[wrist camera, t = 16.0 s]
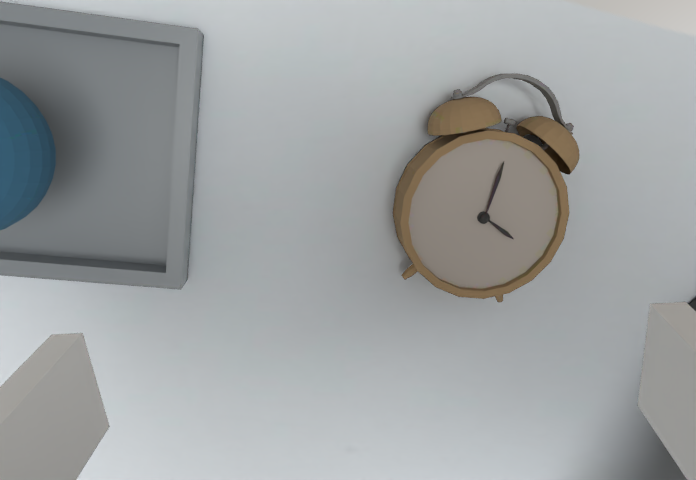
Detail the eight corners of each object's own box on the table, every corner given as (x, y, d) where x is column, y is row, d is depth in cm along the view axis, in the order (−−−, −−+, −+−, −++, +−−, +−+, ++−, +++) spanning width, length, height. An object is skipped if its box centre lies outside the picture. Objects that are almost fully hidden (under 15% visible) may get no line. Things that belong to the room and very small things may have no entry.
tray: (203, 35, 36) (197, 28, 34) (187, 279, 39) (180, 289, 37) (-144, -12, 34) (-177, -23, 31) (-134, 253, 37) (-164, 262, 34)
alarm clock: (377, 281, 38) (454, 51, 33) (370, 253, 43) (437, 47, 38) (532, 318, 40) (627, 105, 35) (509, 287, 44) (590, 95, 39)
